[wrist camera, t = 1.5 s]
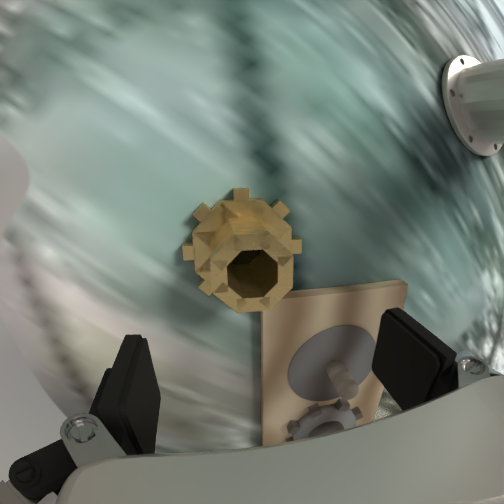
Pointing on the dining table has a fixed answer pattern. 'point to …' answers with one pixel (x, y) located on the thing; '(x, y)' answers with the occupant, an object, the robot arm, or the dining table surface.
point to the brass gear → (240, 239)
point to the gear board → (322, 359)
